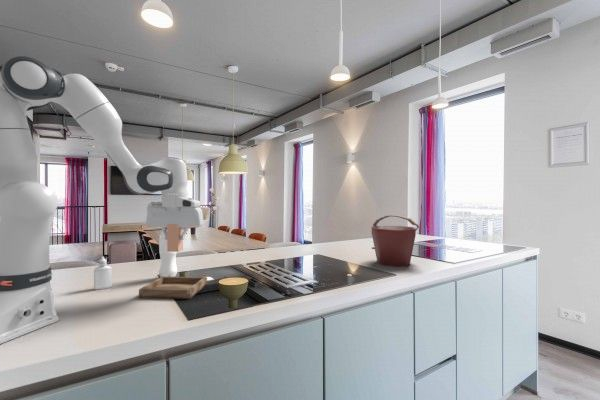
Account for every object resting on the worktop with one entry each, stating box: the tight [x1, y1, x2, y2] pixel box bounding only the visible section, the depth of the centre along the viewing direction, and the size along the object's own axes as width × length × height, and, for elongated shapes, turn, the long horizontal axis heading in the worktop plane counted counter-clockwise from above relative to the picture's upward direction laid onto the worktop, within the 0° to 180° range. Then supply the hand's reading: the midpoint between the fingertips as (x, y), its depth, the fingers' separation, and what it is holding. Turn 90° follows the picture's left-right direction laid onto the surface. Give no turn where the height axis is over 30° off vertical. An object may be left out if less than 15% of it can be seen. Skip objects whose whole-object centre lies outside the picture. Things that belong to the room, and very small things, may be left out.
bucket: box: [371, 214, 420, 268], centre depth 156 cm, size 24×22×25 cm
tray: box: [138, 276, 208, 300], centre depth 110 cm, size 16×18×3 cm
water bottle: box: [158, 231, 178, 278], centre depth 128 cm, size 7×7×25 cm
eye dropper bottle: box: [93, 256, 113, 291], centre depth 114 cm, size 4×6×12 cm
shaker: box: [167, 224, 184, 253], centre depth 110 cm, size 4×4×11 cm
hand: (175, 239), depth 110 cm, fingers closed on shaker, 4 cm apart
